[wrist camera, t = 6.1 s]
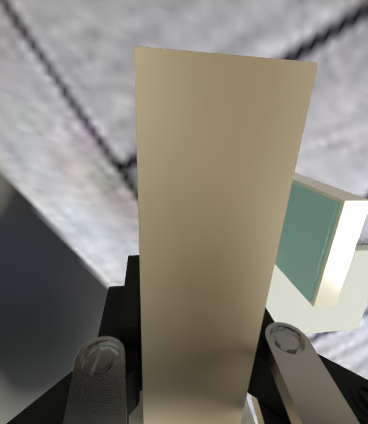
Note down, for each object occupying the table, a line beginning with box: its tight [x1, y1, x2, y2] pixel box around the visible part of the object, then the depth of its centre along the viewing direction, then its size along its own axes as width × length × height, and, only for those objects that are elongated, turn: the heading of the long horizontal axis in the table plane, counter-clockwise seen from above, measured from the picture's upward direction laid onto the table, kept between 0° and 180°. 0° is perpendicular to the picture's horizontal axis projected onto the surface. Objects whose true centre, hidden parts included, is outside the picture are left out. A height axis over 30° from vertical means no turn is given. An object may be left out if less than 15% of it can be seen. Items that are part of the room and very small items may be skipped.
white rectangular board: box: [266, 245, 368, 334], centre depth 34 cm, size 14×24×2 cm, turn 87°
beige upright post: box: [129, 46, 318, 424], centre depth 9 cm, size 7×15×5 cm, turn 177°
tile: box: [275, 172, 368, 307], centre depth 23 cm, size 9×2×12 cm, turn 177°
